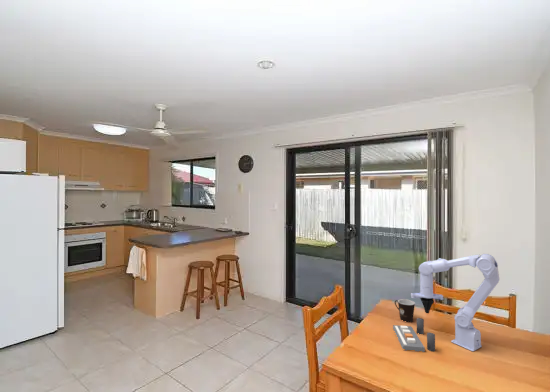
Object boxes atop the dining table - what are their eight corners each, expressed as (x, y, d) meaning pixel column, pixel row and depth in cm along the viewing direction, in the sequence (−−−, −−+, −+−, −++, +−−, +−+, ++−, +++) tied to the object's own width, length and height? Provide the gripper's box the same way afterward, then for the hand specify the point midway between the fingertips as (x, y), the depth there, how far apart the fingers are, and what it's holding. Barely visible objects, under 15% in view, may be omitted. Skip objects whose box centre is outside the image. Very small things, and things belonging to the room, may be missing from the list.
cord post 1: (425, 333, 140) (425, 319, 140) (421, 335, 138) (421, 321, 138) (419, 331, 143) (419, 317, 143) (415, 332, 141) (415, 319, 141)
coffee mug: (418, 323, 151) (417, 305, 151) (402, 323, 151) (401, 305, 151) (408, 313, 163) (407, 297, 163) (393, 314, 163) (393, 297, 163)
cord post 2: (436, 350, 125) (436, 334, 125) (432, 352, 124) (432, 336, 124) (429, 346, 128) (429, 331, 128) (425, 348, 126) (425, 333, 126)
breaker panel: (393, 328, 145) (393, 322, 145) (411, 330, 144) (411, 323, 144) (403, 350, 126) (403, 342, 126) (424, 351, 124) (424, 344, 124)
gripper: (439, 284, 143) (439, 310, 143) (409, 282, 146) (409, 308, 146) (444, 288, 136) (445, 316, 136) (413, 287, 139) (413, 314, 139)
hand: (426, 312), depth 141 cm, fingers closed
